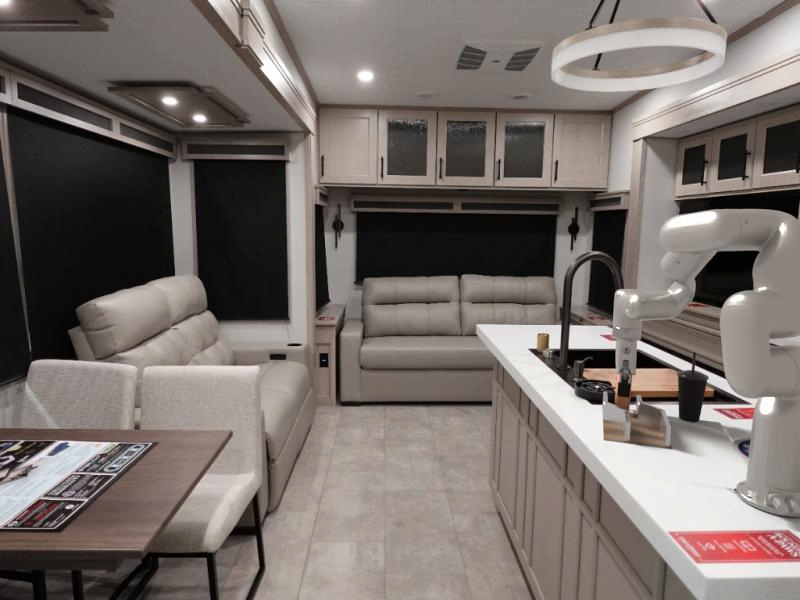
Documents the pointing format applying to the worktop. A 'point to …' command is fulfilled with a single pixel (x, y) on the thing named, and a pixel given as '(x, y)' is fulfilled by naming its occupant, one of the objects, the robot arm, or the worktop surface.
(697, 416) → the drinking cup
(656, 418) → the bent rails
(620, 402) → the peg
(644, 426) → the channel board
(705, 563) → the worktop surface
